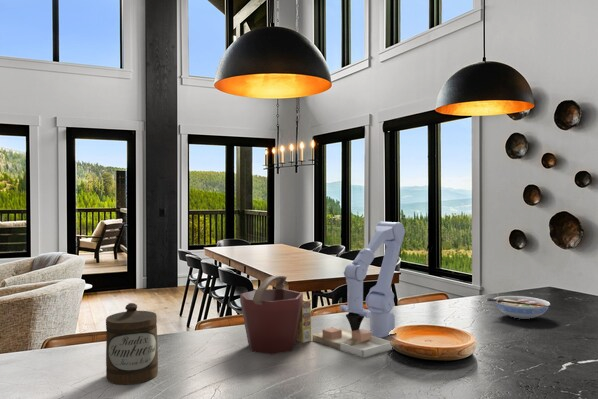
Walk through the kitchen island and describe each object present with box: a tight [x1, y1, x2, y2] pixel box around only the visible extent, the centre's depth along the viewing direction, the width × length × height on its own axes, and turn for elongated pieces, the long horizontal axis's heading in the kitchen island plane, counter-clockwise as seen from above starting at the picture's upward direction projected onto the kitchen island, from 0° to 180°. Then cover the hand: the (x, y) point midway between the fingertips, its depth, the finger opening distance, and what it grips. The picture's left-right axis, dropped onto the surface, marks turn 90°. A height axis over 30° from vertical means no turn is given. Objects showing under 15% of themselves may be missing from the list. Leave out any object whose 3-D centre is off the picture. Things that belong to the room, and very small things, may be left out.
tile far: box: [322, 326, 342, 339], centre depth 188 cm, size 5×5×2 cm
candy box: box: [296, 297, 312, 344], centre depth 191 cm, size 9×4×15 cm, turn 33°
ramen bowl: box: [486, 295, 552, 320], centre depth 222 cm, size 25×23×8 cm
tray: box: [339, 335, 393, 359], centre depth 179 cm, size 15×11×2 cm
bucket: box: [239, 275, 304, 355], centre depth 182 cm, size 24×22×25 cm
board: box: [311, 327, 369, 351], centre depth 189 cm, size 15×15×2 cm
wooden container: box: [105, 302, 159, 386], centre depth 154 cm, size 15×15×22 cm
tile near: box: [352, 328, 372, 341], centre depth 185 cm, size 5×5×2 cm
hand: (355, 333), depth 188 cm, fingers closed
